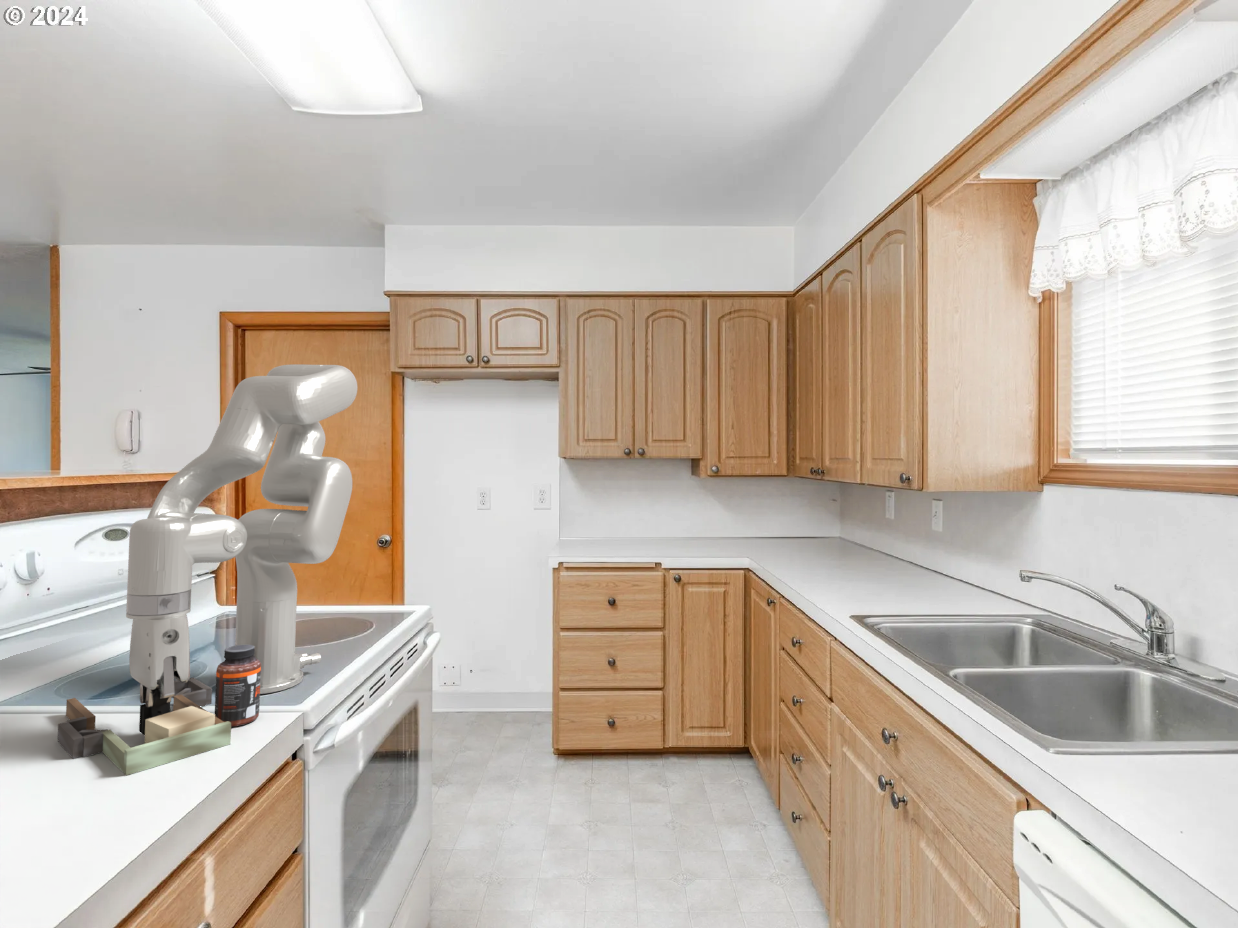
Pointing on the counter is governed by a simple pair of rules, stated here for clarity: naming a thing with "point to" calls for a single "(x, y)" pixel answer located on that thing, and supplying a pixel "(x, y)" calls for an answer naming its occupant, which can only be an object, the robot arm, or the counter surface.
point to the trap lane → (88, 741)
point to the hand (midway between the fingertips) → (154, 730)
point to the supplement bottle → (238, 686)
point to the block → (177, 723)
